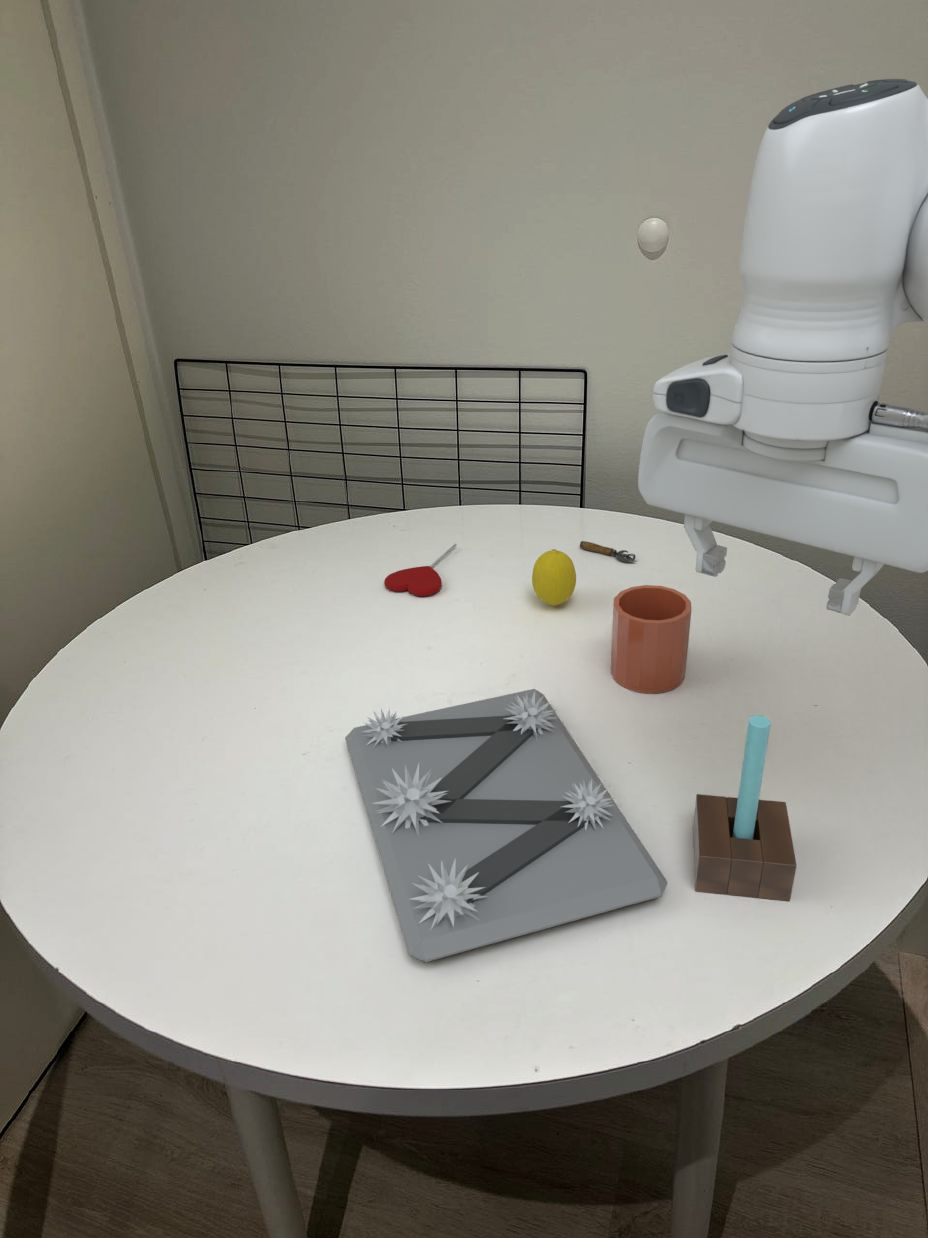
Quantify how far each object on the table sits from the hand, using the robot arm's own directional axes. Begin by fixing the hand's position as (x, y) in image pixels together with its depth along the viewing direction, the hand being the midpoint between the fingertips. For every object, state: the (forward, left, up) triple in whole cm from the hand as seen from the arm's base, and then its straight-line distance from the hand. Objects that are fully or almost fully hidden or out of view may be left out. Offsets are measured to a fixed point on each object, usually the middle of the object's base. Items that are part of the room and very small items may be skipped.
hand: (772, 589), depth 62 cm
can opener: (+13, -58, -27) cm, 65 cm away
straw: (-1, -1, -27) cm, 27 cm away
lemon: (+19, -43, -27) cm, 54 cm away
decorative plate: (+21, -4, -27) cm, 35 cm away
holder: (-1, -1, -27) cm, 27 cm away
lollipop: (+37, -51, -27) cm, 68 cm away
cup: (+7, -29, -27) cm, 40 cm away
